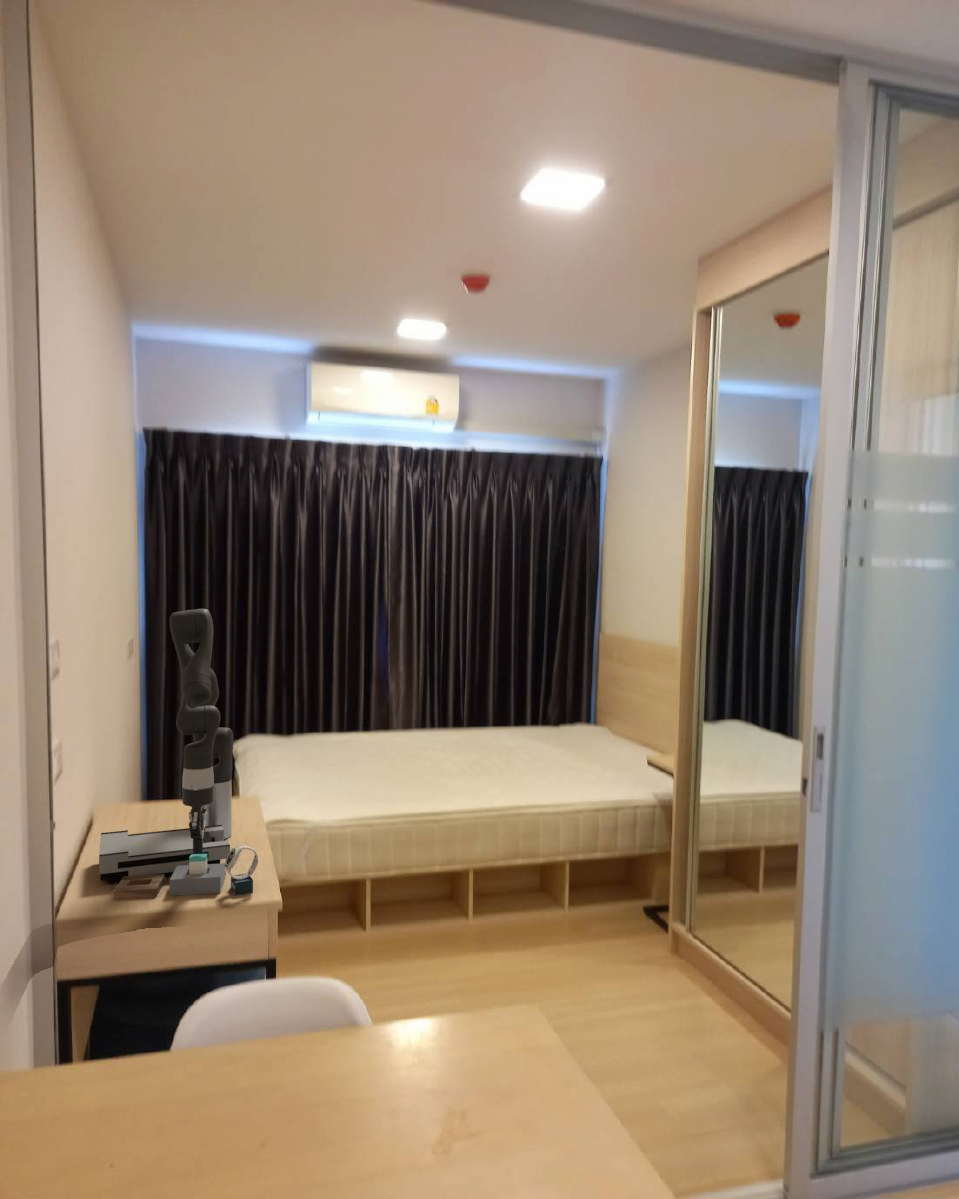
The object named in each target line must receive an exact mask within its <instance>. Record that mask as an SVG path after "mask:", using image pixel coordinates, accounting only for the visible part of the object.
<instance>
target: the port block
mask: <svg viewBox="0 0 959 1199" xmlns="http://www.w3.org/2000/svg"><path fill="white" fill-rule="evenodd" d="M169 878H170V879H169V896H170V897H173V896H189V895H207V894H221V893H222V888H223V886H224V883H225V879H226V867H225V862H223V863H220V864H207V874H190V875H189V865H185V866H177V867H176V869H175V871H174V873H173V874H172V876H171V877H169Z"/></svg>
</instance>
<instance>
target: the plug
mask: <svg viewBox="0 0 959 1199" xmlns="http://www.w3.org/2000/svg"><path fill="white" fill-rule="evenodd" d="M190 874H207V854H191V855H190V857H189V875H190Z"/></svg>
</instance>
